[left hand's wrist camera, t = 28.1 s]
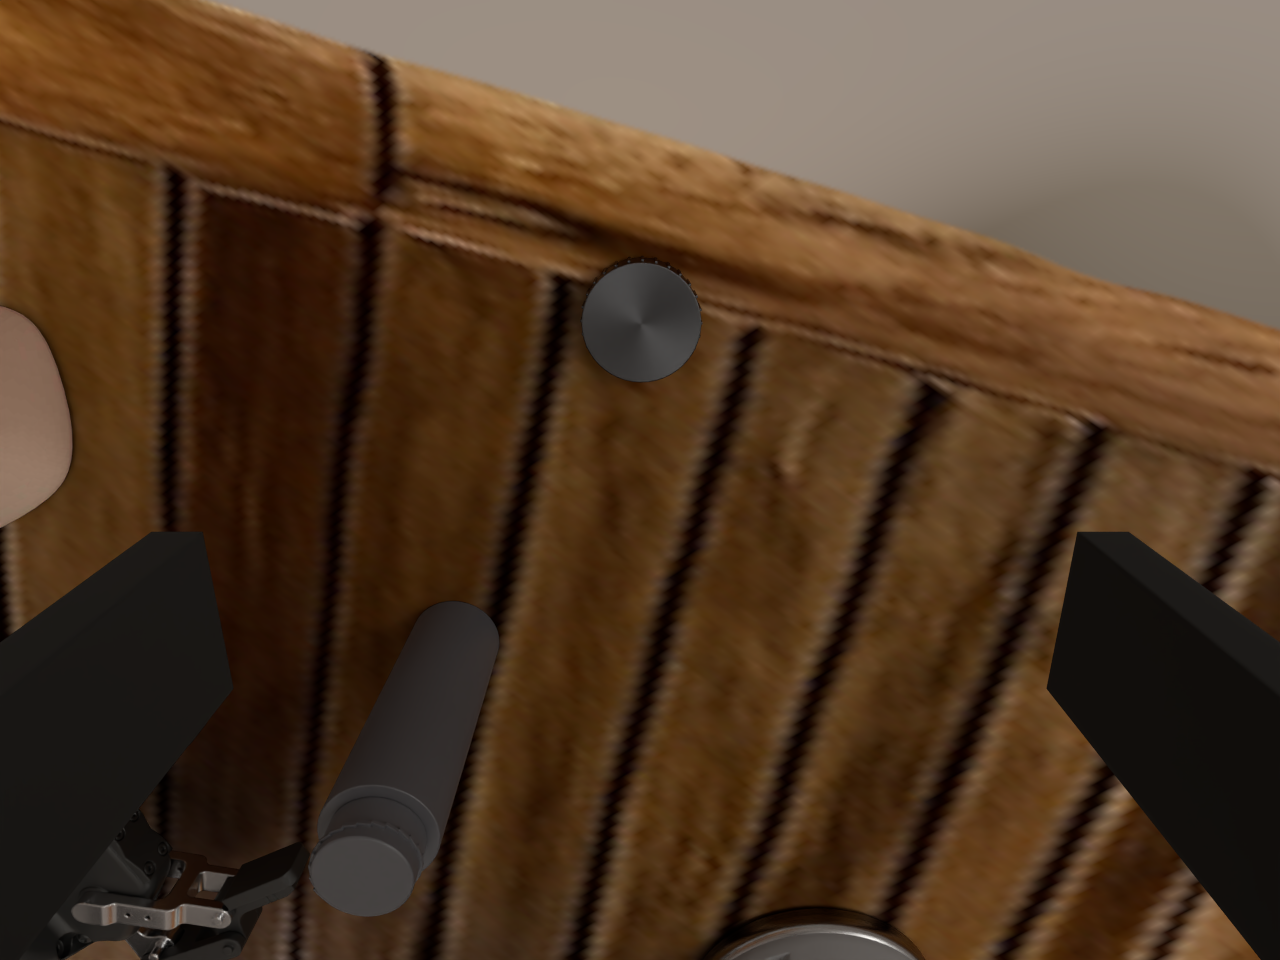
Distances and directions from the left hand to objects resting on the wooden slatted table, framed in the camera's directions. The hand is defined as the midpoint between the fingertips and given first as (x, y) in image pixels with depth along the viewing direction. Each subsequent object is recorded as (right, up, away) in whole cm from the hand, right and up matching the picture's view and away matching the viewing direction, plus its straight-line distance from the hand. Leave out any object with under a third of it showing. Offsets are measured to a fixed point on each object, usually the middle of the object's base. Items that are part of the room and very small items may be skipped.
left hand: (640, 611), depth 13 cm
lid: (0, +9, +23) cm, 24 cm away
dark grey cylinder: (-10, -6, +30) cm, 32 cm away
